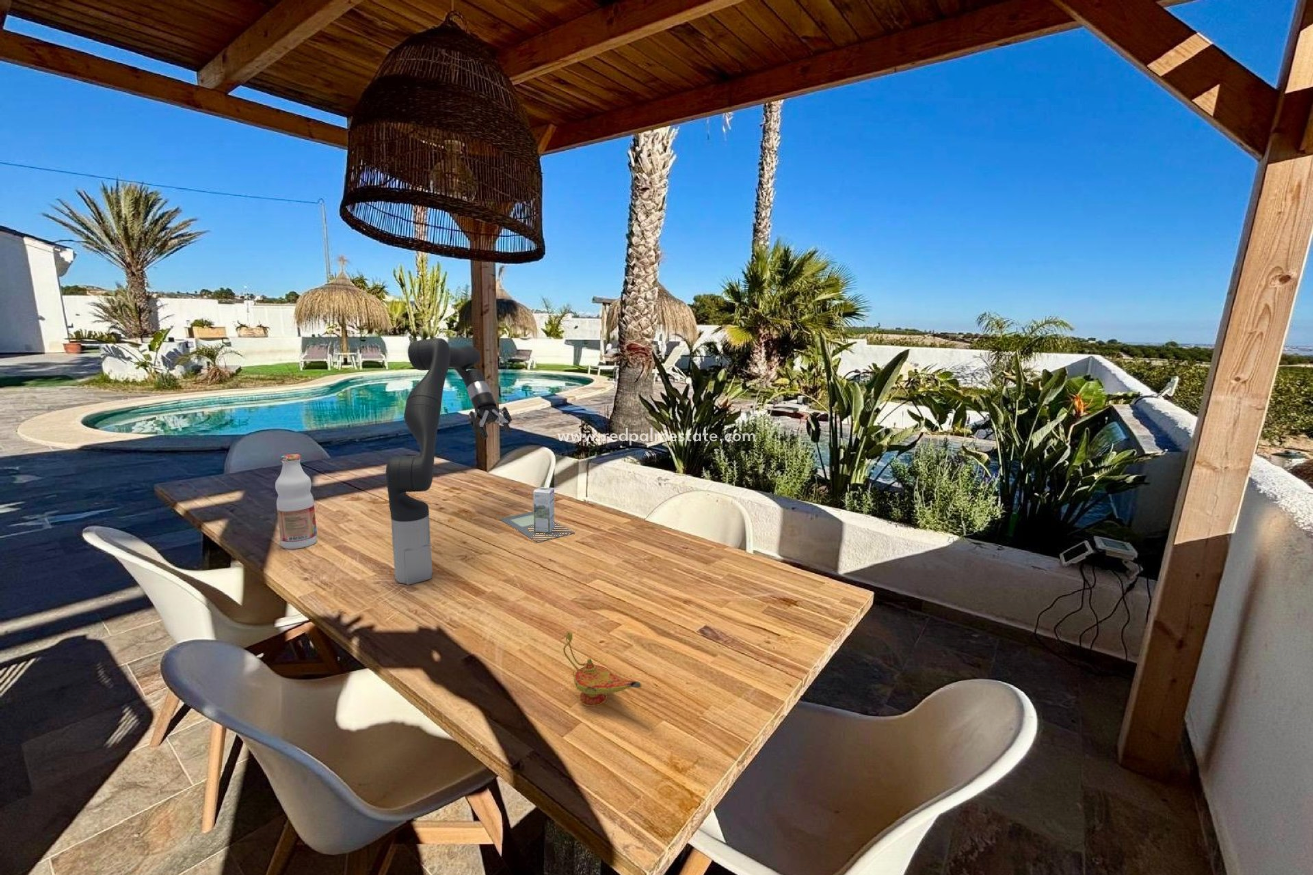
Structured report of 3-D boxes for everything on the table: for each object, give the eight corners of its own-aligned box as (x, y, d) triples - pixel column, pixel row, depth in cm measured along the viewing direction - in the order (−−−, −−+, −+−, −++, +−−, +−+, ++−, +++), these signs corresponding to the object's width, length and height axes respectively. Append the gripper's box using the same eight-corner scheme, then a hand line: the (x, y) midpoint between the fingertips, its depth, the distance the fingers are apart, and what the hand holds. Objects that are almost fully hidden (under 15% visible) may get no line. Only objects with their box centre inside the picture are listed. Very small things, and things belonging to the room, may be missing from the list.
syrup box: (555, 527, 182) (554, 487, 179) (550, 533, 176) (549, 492, 174) (538, 526, 183) (538, 486, 180) (533, 532, 177) (532, 491, 174)
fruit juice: (274, 546, 161) (263, 457, 156) (304, 536, 170) (296, 451, 165) (294, 551, 158) (284, 460, 152) (324, 541, 166) (316, 454, 161)
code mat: (574, 533, 178) (574, 532, 178) (537, 542, 169) (537, 542, 169) (534, 511, 199) (534, 511, 199) (499, 519, 190) (499, 518, 190)
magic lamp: (628, 732, 89) (629, 673, 87) (550, 691, 98) (550, 637, 96) (651, 709, 94) (652, 653, 92) (575, 673, 104) (575, 621, 102)
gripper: (465, 393, 181) (481, 433, 177) (503, 389, 190) (519, 427, 186) (458, 404, 186) (475, 444, 182) (496, 400, 196) (512, 437, 191)
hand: (497, 435), depth 184 cm, fingers open, 8 cm apart
